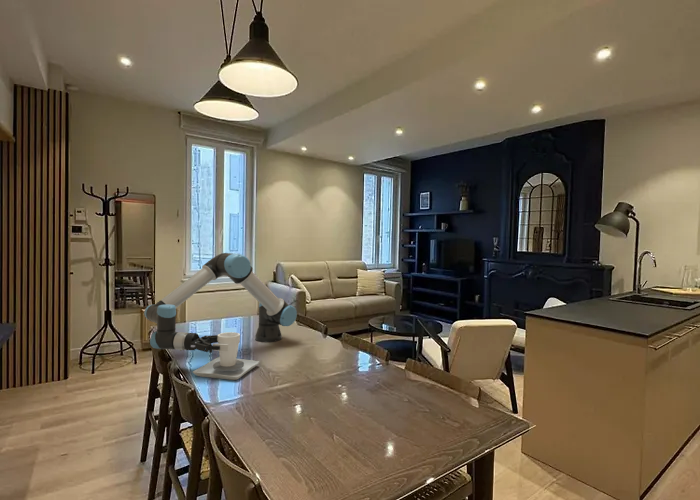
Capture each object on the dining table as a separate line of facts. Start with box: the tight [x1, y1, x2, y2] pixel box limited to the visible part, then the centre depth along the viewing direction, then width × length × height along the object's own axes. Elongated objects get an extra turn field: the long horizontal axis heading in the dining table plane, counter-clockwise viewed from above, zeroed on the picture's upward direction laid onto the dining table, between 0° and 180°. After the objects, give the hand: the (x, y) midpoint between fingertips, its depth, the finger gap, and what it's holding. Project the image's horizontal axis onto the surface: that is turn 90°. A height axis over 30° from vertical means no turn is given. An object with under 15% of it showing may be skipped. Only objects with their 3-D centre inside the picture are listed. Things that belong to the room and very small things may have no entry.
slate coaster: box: [213, 360, 244, 371], centre depth 168 cm, size 13×13×1 cm
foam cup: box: [217, 331, 241, 366], centre depth 168 cm, size 10×9×13 cm
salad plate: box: [192, 356, 260, 381], centre depth 168 cm, size 21×21×3 cm
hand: (234, 343), depth 168 cm, fingers open, 13 cm apart
